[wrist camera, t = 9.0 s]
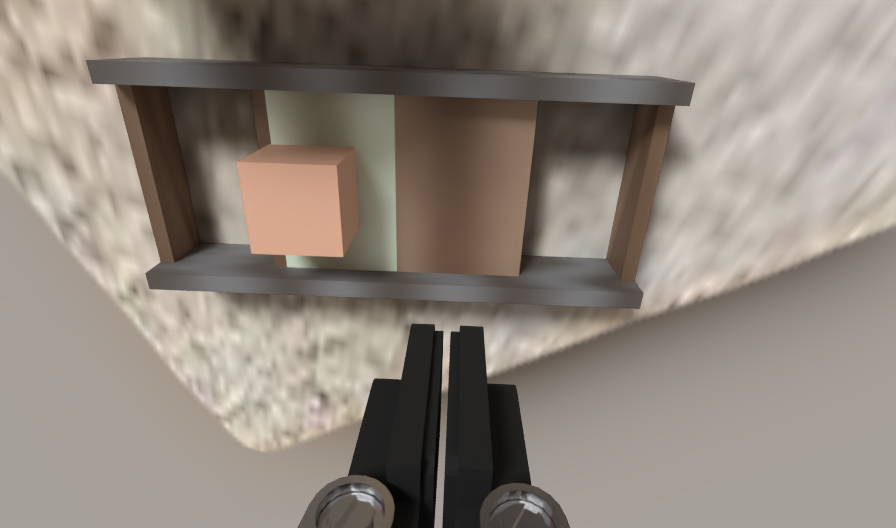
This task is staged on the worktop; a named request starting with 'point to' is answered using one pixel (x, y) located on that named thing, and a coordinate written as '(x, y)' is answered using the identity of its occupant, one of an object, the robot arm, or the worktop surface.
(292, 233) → the terracotta block
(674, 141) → the worktop surface
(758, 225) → the worktop surface
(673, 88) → the box
